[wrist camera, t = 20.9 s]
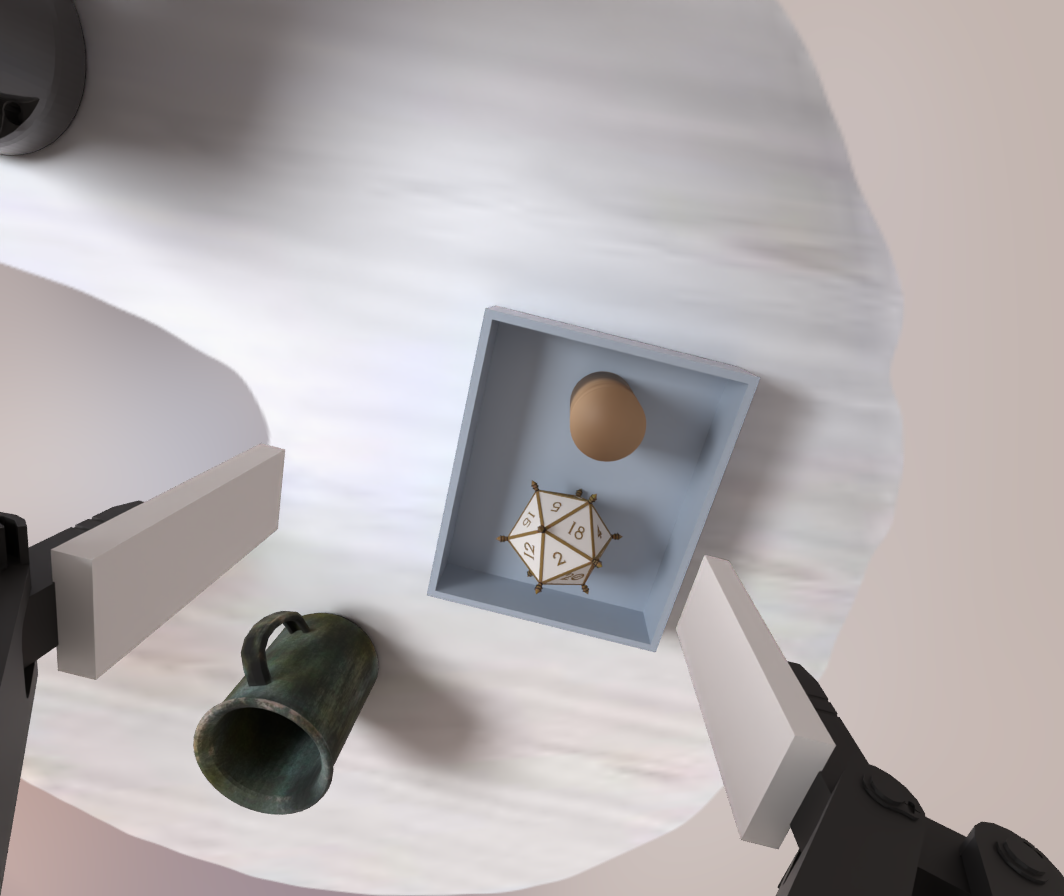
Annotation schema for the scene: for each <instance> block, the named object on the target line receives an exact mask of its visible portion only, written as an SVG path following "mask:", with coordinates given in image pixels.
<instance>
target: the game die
mask: <svg viewBox="0 0 1064 896" xmlns="http://www.w3.org/2000/svg"><path fill="white" fill-rule="evenodd" d="M531 486H532V487H533V488H532V489H534V490H535V493H534V494H533V496H532V497H531V499H530V501H529V502H528V504H527V506H526V507H525V509H524V511H523V512H522V514H521V515H520V517H519V519H518V520H517V522H516V524H515V525H514V527H513V529H512V530H511V532H510V533H509V535H508V536H504V535H503V536H501V535H500V536H499V537H498V538H496V539H497V540H498V541H500V542H505V541H508V542H509V543H510V545H511V546H512V547H513V549H514V550H515V552H516V553H517V554H518V556H519V557H520V558H521V560H522V561H523V562H524V564H525V565H526V567H527V568H528V569H529V571H527V577H532V576H534V578H535V579H536V580H537V582H538V584H537V585H536V587H535V589H534V590H535V593H536V594H538V593H539V592H542V591H541V590H542V589H543V588H542V585H581V586H582V588H581V589H582V590H583V592H585V593H586V594H588V593H589V588H588V586H587V585H585V583H586V581H587V579H588V578H589V576H590V574H591V573H592V571H593V569H594V568H595V567H597V568H600V567H602V561H600V560H599V559H600V558H601V556H602V554H603V553H604V551H605V549H606V548H607V546H608V544H609V543H610V541H611V539H614V540H616V539H617V540H619V539H620V538H622V537H623V536H621V535H620V534H618V533H617V534H615V533H614V534H611V533H610V531H609V530H608V528H607V527H606V525H605V523H604V522H603V520H602V519H601V517H600V515H599V514H598V512H597V510H596V509H595V507H594V506H593V504H592V503H593V502H595V500H597V494H592V495H591V496H590V497H589V500H587V499H584V498H582V497H581V495H582V493H583V492H582V489H579V490H576V491H577V492H576V495H570V494H564V493H557V492H551V491H545V490H539V488H538V486H539V485H537V483H536V482H534V481H533V480H532V484H531Z"/></svg>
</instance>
